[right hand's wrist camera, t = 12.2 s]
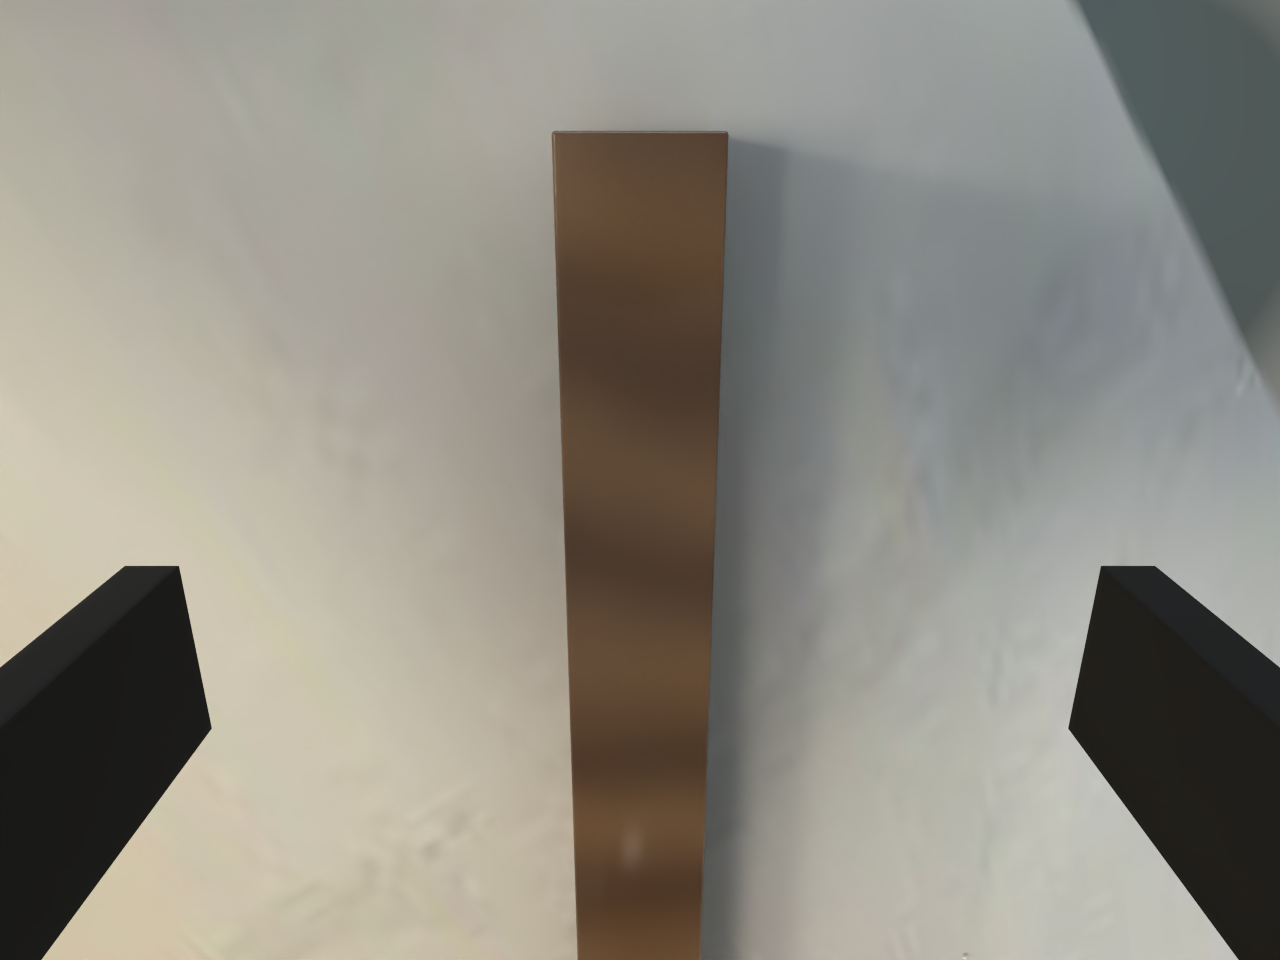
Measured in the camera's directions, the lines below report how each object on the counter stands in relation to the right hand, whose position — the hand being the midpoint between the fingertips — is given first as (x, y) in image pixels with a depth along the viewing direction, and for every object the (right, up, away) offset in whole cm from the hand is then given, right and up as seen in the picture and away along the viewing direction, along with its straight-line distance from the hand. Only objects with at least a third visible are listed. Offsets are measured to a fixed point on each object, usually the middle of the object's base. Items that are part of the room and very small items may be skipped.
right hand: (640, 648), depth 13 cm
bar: (0, -20, +33) cm, 38 cm away
